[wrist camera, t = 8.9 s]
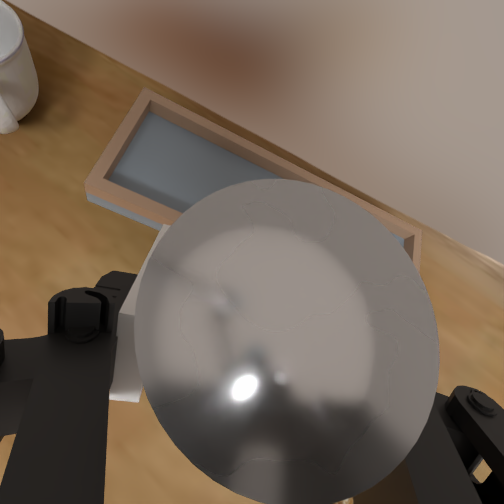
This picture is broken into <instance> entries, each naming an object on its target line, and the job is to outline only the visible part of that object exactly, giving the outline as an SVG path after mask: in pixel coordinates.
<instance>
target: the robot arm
mask: <svg viewBox="0 0 504 504" xmlns="http://www.w3.org/2000/svg"><path fill="white" fill-rule="evenodd" d="M170 226H171V225H166V224H163V226H162V228H161V230H160V232H159V234H158V236H157V238H156V240H155V242H154V244H153V246H152V248H151V250H150V252H149V254H148V256H147V258H146V260H145V262H144V264H143V266H142V268H141V270H140V272H139V274H138V275H137V274H131V273H125V272H119V271H112V272H110V273H108V274H106V275H104V276H102V277H101V278H100V280H99V281H98V283H97V284H96V286H95V287H94V288H87V287H83V288H72V289H68V290H64V291H61V292H59V293H58V294H56V295H54V296H53V297H52V298H51V299H50V301H49V302H48V335H45V336H41V337H35V338H26V339H12V340H4V335H3V331H2V330H1V329H0V442H1V440H2V439H3V437H4V436H5V435H11V434H16V433H17V434H16V437H15V440H14V444H13V447H12V450H11V453H10V456H9V460H8V463H7V466H6V469H5V472H4V476H3V479H2V482H1V485H0V504H104V486H105V466H106V447H107V427H108V407H109V399H111V400H120V401H130V402H139V400H140V396H141V392H142V389H143V383H142V380H141V377H140V374H139V368H138V363H137V358H136V352H135V339H134V318H135V307H136V300H137V295H138V291H139V287H140V282H141V279H142V276H143V274H144V271H145V268H146V266H147V263H148V260H149V259H150V257H151V255H152V253H153V251H154V249H155V248H156V246H157V244H158V242H159V241H160V239H161V238H162V237H163V235H164V234H165V233H166V231H167V230H168V229H169V227H170ZM109 390H110V395H109ZM483 459H484V460H485V462H486V463H487V464H488V466H489V467H490V468H491V470H492V472H491V473H490V475H489V476H488V477H487V479H486V480H485V481H484V482H483V483H480V482H479V481H478V480H477V479H476V478H475V476H474V475H473V474H472V473H473V472H474V471H475V469H476V468H477V467H478V465H479V464H480V463H481V461H482V460H483ZM353 504H504V409H503V408H502V407H501V406H499V405H498V404H497V403H496V402H495V401H494V400H493V399H491V398H490V397H488V396H487V395H486V394H485V393H483V392H481V391H479V390H477V389H474V388H471V387H467V386H457V387H456V388H455V389H454V390H453V392H452V393H451V395H450V397H448V396H445V395H442V394H440V393H437V392H436V393H435V398H434V403H433V406H432V408H431V411H430V414H429V417H428V420H427V423H426V424H425V426H424V428H423V430H422V432H421V434H420V436H419V438H418V440H417V442H416V443H415V445H414V446H413V447H412V449H411V450H410V452H409V453H408V454H407V456H406V457H405V459H404V460H403V461H402V462H401V463H400V464H399V465H398V466H397V467H396V468H395V469H394V470H393V471H392V472H391V473H390V474H389V475H387V476H386V477H385V478H384V479H382V480H381V481H380V482H378V483H377V484H376V485H374V486H373V487H371V488H369V489H367V490H365V491H364V492H362V493H360V494H358V495H356V496H354V497H353Z"/></svg>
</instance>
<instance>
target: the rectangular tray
mask: <svg viewBox="0 0 504 504" xmlns="http://www.w3.org/2000/svg"><path fill="white" fill-rule="evenodd" d="M260 179H287V180H297V181H301V182H306V183H310V184H314V185H317V186H320V187H323V188H326V189H329V190H331V191H333V192H335V193H338V194H340V195H342V196H344V197H346V198H348V199H349V200H351V201H353V202H354V203H356V204H358V205H359V206H361V207H362V208H363V209H365V210H366V211H367V212H369V213H370V214H371V215H373V216H374V217H375V218H376V219H377V220H378V221H379V222H380V223H382V224H383V225H384V226H385V227H386V228H387V229H388V230H389V231H390V233H391V234H392V235H393V236H394V237H395V238H396V239H397V240H398V242H399V243H400V244H401V246H402V247H403V248H404V250H405V251H406V252H407V254H408V255H409V257H410V259H411V260H412V262H413V264H414V265H415V267H416V269H417V270H418V272H419V274H420V258H421V242H422V230H420V229H418V228H416V227H414V226H412V225H411V224H409V223H407V222H405V221H403V220H401V219H399V218H397V217H395V216H393V215H391V214H389V213H387V212H385V211H383V210H382V209H380V208H378V207H376V206H374V205H372V204H370V203H368V202H366V201H364V200H362V199H360V198H358V197H356V196H354V195H353V194H351V193H349V192H347V191H345V190H343V189H341V188H339V187H337V186H335V185H333V184H331V183H329V182H327V181H325V180H323V179H322V178H320V177H318V176H316V175H314V174H312V173H310V172H308V171H306V170H304V169H302V168H300V167H298V166H296V165H294V164H293V163H291V162H289V161H287V160H285V159H283V158H281V157H279V156H277V155H275V154H273V153H271V152H269V151H267V150H265V149H264V148H262V147H260V146H258V145H256V144H254V143H252V142H250V141H248V140H246V139H244V138H242V137H240V136H238V135H236V134H234V133H233V132H231V131H229V130H227V129H225V128H223V127H221V126H219V125H217V124H215V123H213V122H211V121H209V120H207V119H205V118H204V117H202V116H200V115H198V114H196V113H194V112H192V111H190V110H188V109H186V108H184V107H182V106H180V105H178V104H176V103H175V102H173V101H171V100H169V99H167V98H165V97H163V96H161V95H159V94H157V93H155V92H153V91H151V90H149V89H147V88H145V87H144V88H143V90H142V91H141V93H140V94H139V96H138V98H137V99H136V101H135V102H134V104H133V106H132V107H131V109H130V110H129V112H128V113H127V115H126V117H125V118H124V120H123V121H122V123H121V124H120V126H119V128H118V129H117V131H116V132H115V134H114V136H113V137H112V139H111V140H110V142H109V143H108V145H107V147H106V148H105V150H104V151H103V153H102V155H101V156H100V158H99V159H98V161H97V162H96V164H95V166H94V167H93V169H92V170H91V172H90V173H89V175H88V177H87V178H86V180H85V181H84V186H85V191H86V196H87V200H88V201H90V202H92V203H95V204H97V205H100V206H102V207H104V208H107V209H109V210H111V211H114V212H116V213H119V214H121V215H123V216H126V217H128V218H130V219H133V220H135V221H138V222H140V223H142V224H145V225H147V226H149V227H152V228H154V229H157V230H159V231H160V230H161V228H162V226H163V224H166V225H172V224H173V223H174V222H175V221H176V220H177V219H178V218H179V217H180V216H181V215H182V214H183V213H184V212H185V211H186V210H188V209H189V208H190V207H192V206H193V205H194V204H195V203H197V202H198V201H200V200H201V199H203V198H205V197H207V196H208V195H210V194H212V193H214V192H216V191H218V190H221V189H223V188H226V187H228V186H231V185H235V184H238V183H242V182H246V181H252V180H260Z"/></svg>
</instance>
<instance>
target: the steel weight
mask: <svg viewBox="0 0 504 504" xmlns="http://www.w3.org/2000/svg"><path fill="white" fill-rule="evenodd" d="M134 339H135V352H136V358H137V363H138V368H139V374H140V377H141V380H142V383H143V386H144V389H145V392H146V395H147V398H148V400H149V402H150V404H151V406H152V408H153V410H154V412H155V414H156V416H157V418H158V420H159V422H160V424H161V425H162V427H163V428H164V430H165V431H166V433H167V434H168V436H169V437H170V438H171V440H172V441H173V443H174V444H175V445H176V446H177V448H178V449H179V450H180V451H181V452H182V453H183V454H184V455H185V456H186V457H187V458H188V459H189V460H190V461H191V463H192V464H193V465H195V466H196V467H197V468H199V469H200V470H201V471H202V472H204V473H205V474H206V475H207V476H209V477H210V478H211V479H212V480H214V481H215V482H217V483H219V484H221V485H222V486H224V487H226V488H228V489H230V490H231V491H233V492H235V493H237V494H239V495H242V496H245V497H247V498H250V499H253V500H256V501H258V502H262V503H267V504H333V503H336V502H339V501H342V500H346V499H349V498H352V497H354V496H356V495H358V494H360V493H362V492H364V491H365V490H367V489H369V488H371V487H373V486H374V485H376V484H377V483H378V482H380V481H381V480H382V479H384V478H385V477H386V476H387V475H389V474H390V473H391V472H392V471H393V470H394V469H395V468H396V467H397V466H398V465H399V464H400V463H401V462H402V461H403V460H404V459H405V457H406V456H407V454H408V453H409V452H410V450H411V449H412V447H413V446H414V445H415V443H416V442H417V440H418V438H419V436H420V434H421V432H422V430H423V428H424V426H425V424H426V423H427V420H428V417H429V414H430V411H431V408H432V406H433V403H434V398H435V393H436V389H437V384H438V375H439V364H440V360H439V339H438V331H437V324H436V320H435V316H434V311H433V307H432V304H431V301H430V298H429V295H428V293H427V290H426V287H425V285H424V283H423V281H422V279H421V276H420V274H419V272H418V270H417V269H416V267H415V265H414V264H413V262H412V260H411V259H410V257H409V255H408V254H407V252H406V251H405V250H404V248H403V247H402V246H401V244H400V243H399V242H398V240H397V239H396V238H395V237H394V236H393V235H392V234H391V233H390V231H389V230H388V229H387V228H386V227H385V226H384V225H383V224H382V223H380V222H379V221H378V220H377V219H376V218H375V217H374V216H373V215H371V214H370V213H369V212H367V211H366V210H365V209H363V208H362V207H361V206H359V205H358V204H356V203H354V202H353V201H351V200H349V199H348V198H346V197H344V196H342V195H340V194H338V193H335V192H333V191H331V190H329V189H326V188H323V187H320V186H317V185H314V184H310V183H306V182H301V181H297V180H287V179H260V180H252V181H246V182H242V183H238V184H235V185H231V186H228V187H226V188H223V189H221V190H218V191H216V192H214V193H212V194H210V195H208V196H207V197H205V198H203V199H201V200H200V201H198V202H197V203H195V204H194V205H193V206H192V207H190V208H189V209H188V210H186V211H185V212H184V213H183V214H182V215H181V216H180V217H179V218H178V219H177V220H176V221H175V222H174V223H173V224H172V225H171V226H170V227H169V229H168V230H167V231H166V233H165V234H164V235H163V237H162V238H161V239H160V241H159V242H158V244H157V246H156V248H155V249H154V251H153V253H152V255H151V257H150V259H149V260H148V263H147V266H146V268H145V271H144V274H143V276H142V279H141V282H140V287H139V291H138V295H137V300H136V307H135V318H134Z"/></svg>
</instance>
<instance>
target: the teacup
mask: <svg viewBox="0 0 504 504" xmlns="http://www.w3.org/2000/svg"><path fill="white" fill-rule="evenodd" d="M38 92H39V85H38V78H37V73H36V70H35V66H34V63H33V59H32V56H31V53H30V50H29V47H28V45H27V42H26V39H25V36H24V30H23V26H22V23H21V21H20V19H19V17H18V15H17V14H16V13H15V11H14V10H13V9H12V8H11V7H10V6H8V5H7V4H6V3H5V2H3V1H2V0H0V133H1V134H9V133H12V132H15V131H17V130H18V129H19V124H18V122H17V121H18V120H20V119H22V118H23V117H24V116H26V115H27V114H28V113H29V112H30V111H31V109H32V108H33V106H34V105H35V103H36V100H37V97H38Z"/></svg>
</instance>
